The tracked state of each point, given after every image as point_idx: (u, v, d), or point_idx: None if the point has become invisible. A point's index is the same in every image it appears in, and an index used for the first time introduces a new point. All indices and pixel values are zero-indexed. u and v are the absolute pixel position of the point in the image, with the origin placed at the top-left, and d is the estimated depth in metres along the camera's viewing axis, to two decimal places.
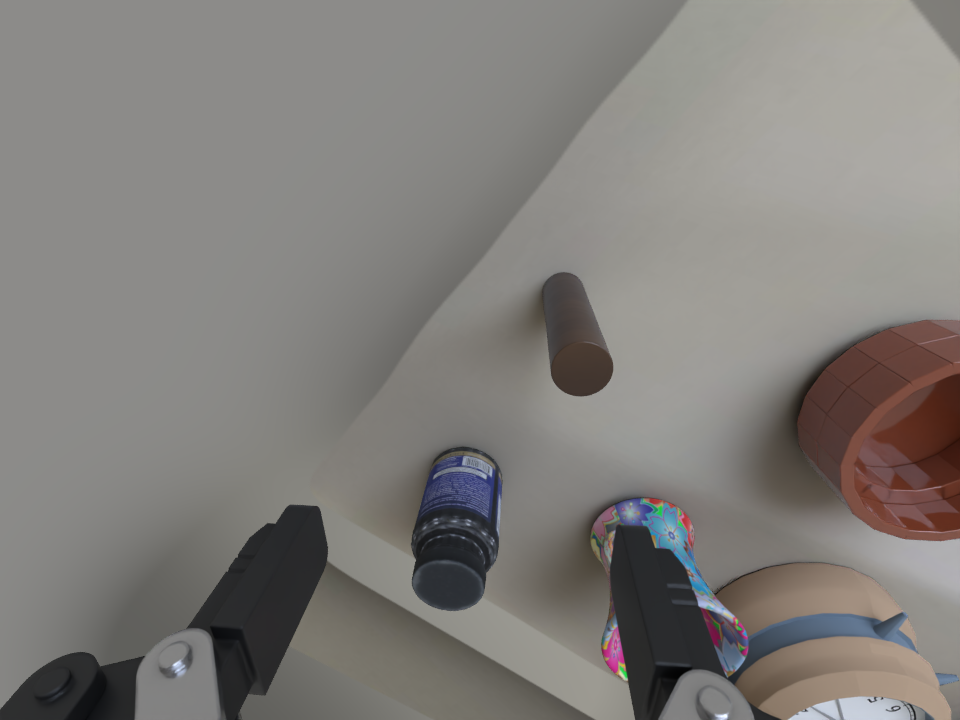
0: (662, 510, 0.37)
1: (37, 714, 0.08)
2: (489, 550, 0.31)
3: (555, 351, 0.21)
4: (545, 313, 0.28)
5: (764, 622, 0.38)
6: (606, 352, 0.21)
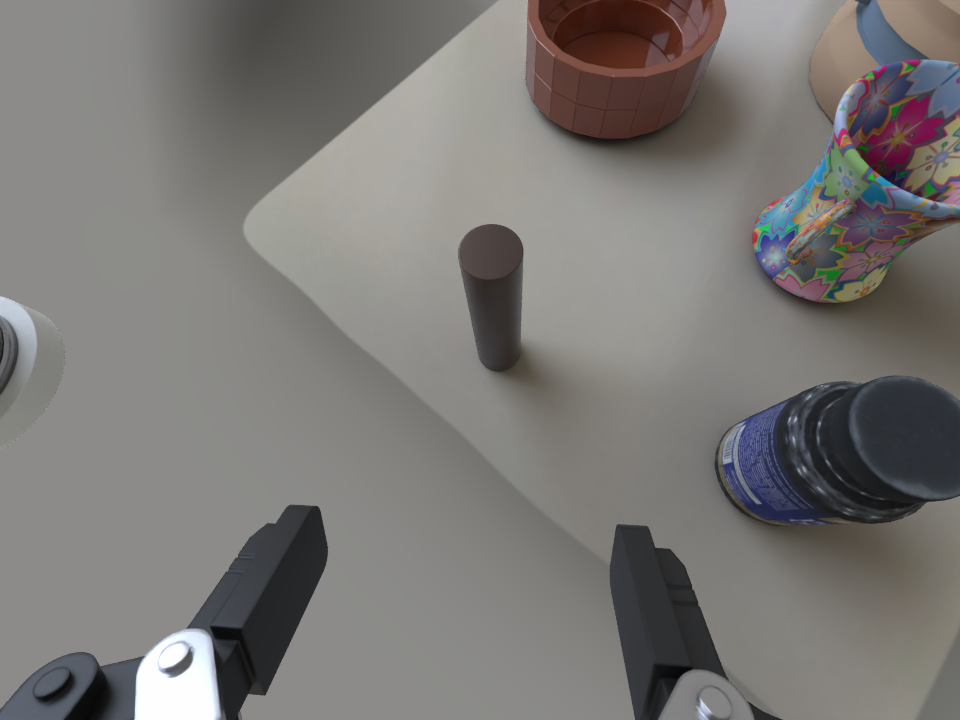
0: (763, 226, 0.31)
1: (37, 714, 0.08)
2: (840, 387, 0.20)
3: (473, 280, 0.20)
4: (492, 343, 0.26)
5: None
6: (470, 231, 0.20)
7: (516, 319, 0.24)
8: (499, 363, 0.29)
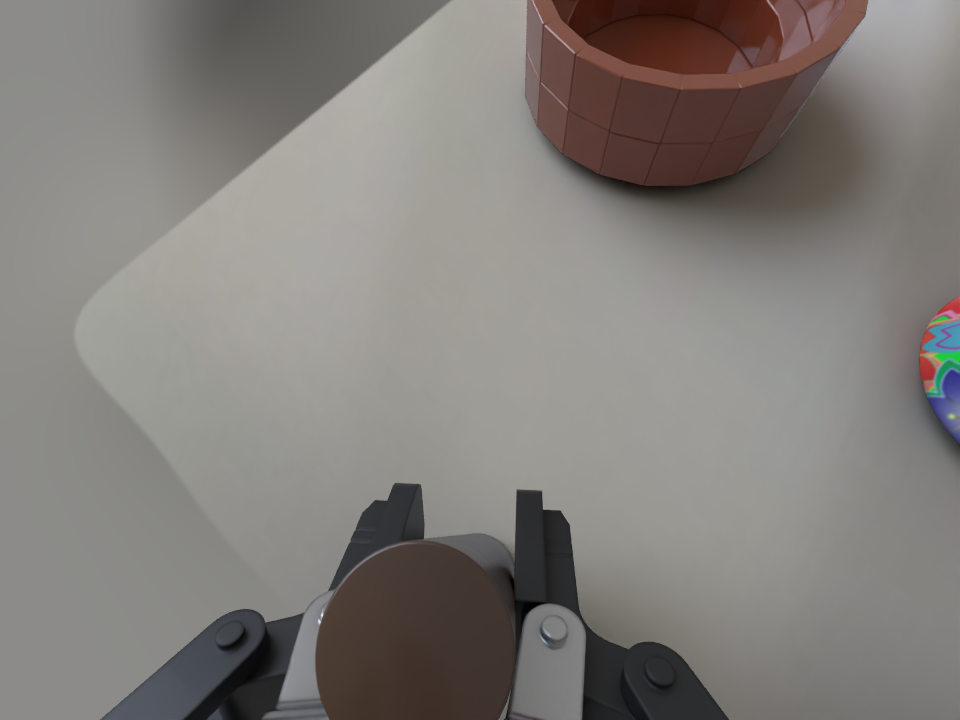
0: (945, 352, 0.18)
1: (212, 660, 0.08)
2: None
3: None
4: None
5: None
6: (359, 565, 0.07)
7: None
8: None
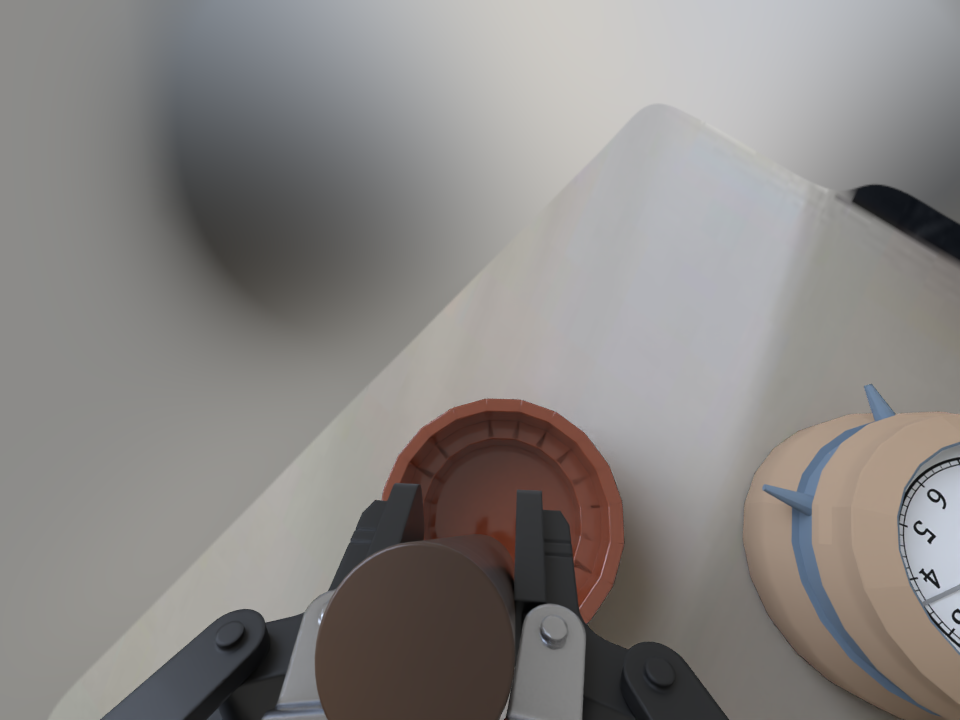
0: None
1: (212, 660, 0.08)
2: None
3: None
4: None
5: (850, 663, 0.24)
6: (359, 566, 0.07)
7: None
8: None
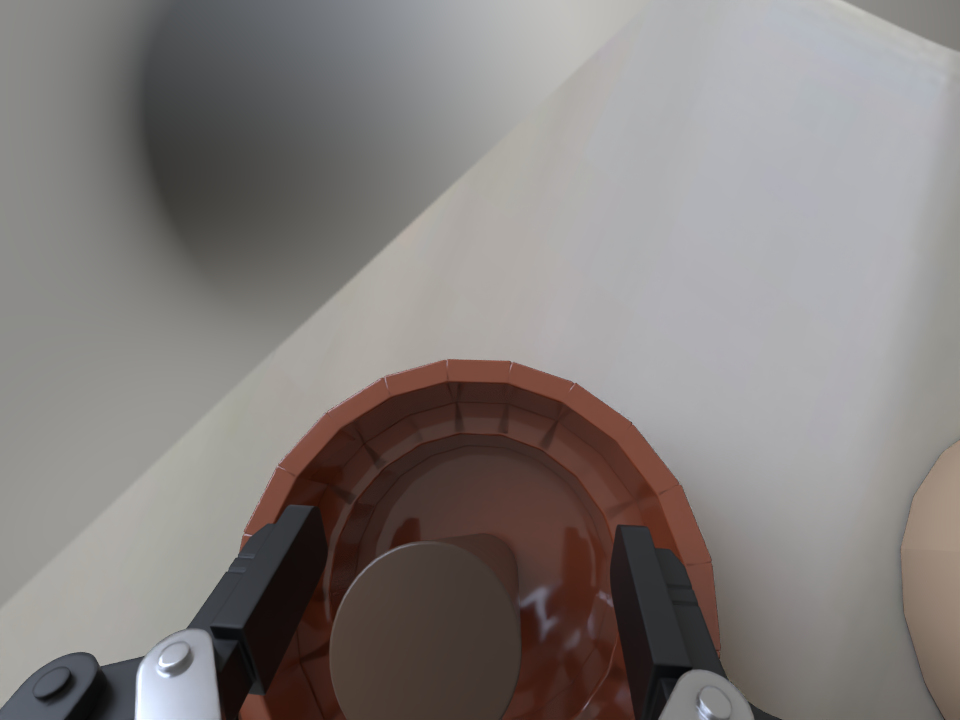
0: None
1: (37, 714, 0.08)
2: None
3: None
4: None
5: None
6: (371, 565, 0.07)
7: None
8: None
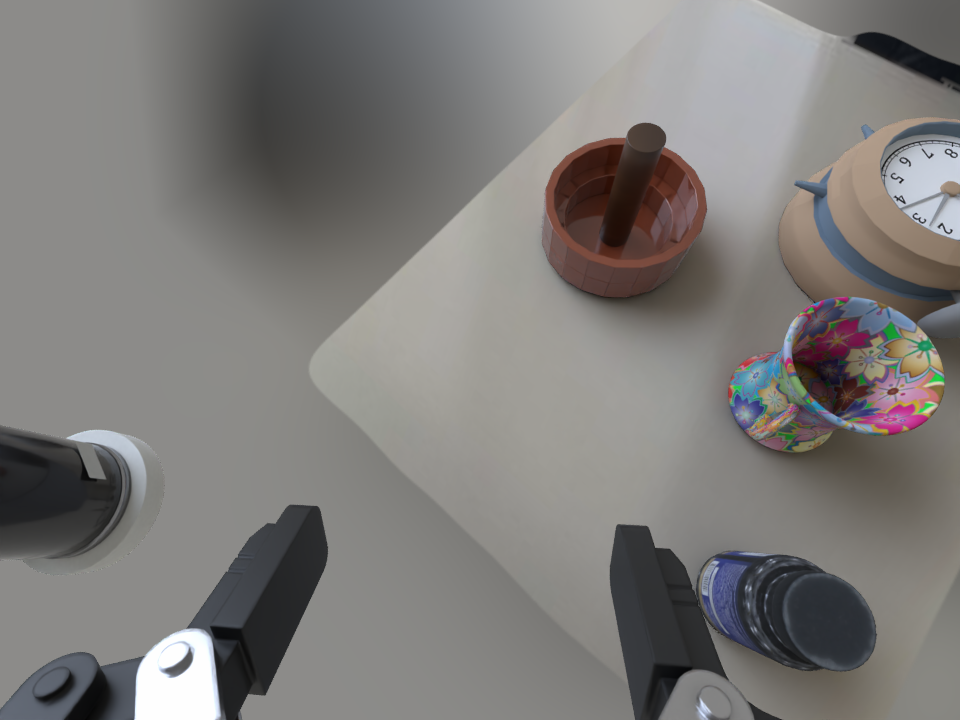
0: (736, 385, 0.39)
1: (37, 714, 0.08)
2: (783, 564, 0.28)
3: (636, 154, 0.34)
4: (623, 214, 0.40)
5: (851, 278, 0.39)
6: (633, 126, 0.34)
7: (645, 193, 0.39)
8: (619, 237, 0.43)
